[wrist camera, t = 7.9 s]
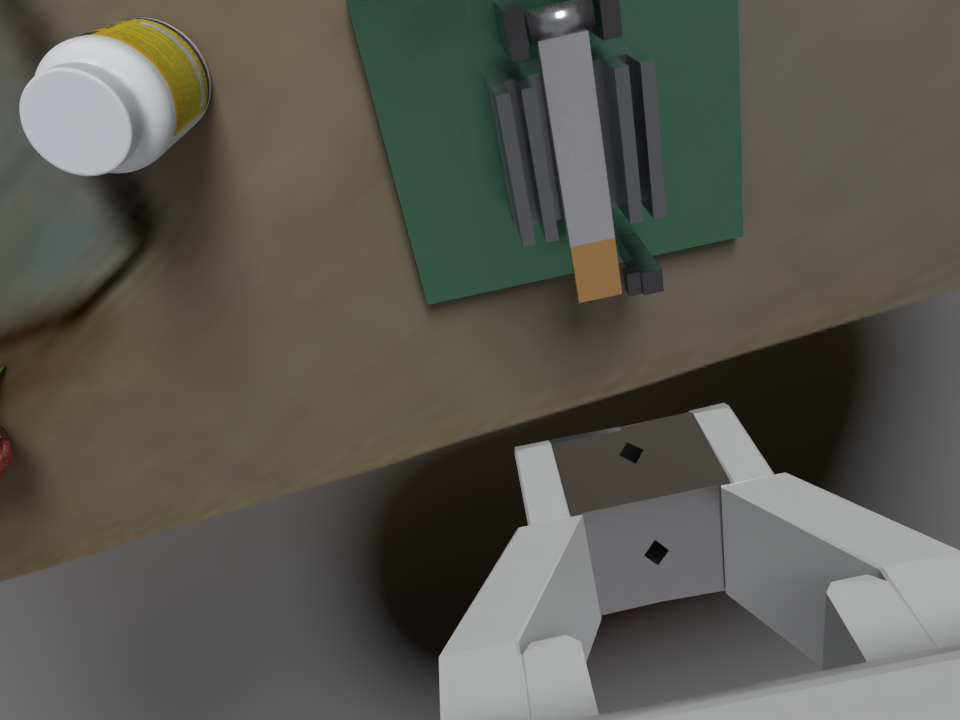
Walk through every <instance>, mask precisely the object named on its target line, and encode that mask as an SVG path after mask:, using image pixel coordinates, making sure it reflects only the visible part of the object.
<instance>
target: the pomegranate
mask: <svg viewBox="0 0 960 720" xmlns="http://www.w3.org/2000/svg"><path fill="white" fill-rule="evenodd" d="M3 368H4V365H3V366H2V367H0V372H1V371H2V369H3ZM11 457H12V447H11V445H10V442H9V439H8V438H7V436H6V433H5V431H4V429H3V427H2V426H1V425H0V476H1V475H2V474H3V473H4V471H5V469H6V468H7V467H8V465H9V463H10V461H11Z"/></svg>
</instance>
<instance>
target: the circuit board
mask: <svg viewBox="0 0 960 720" xmlns="http://www.w3.org/2000/svg"><path fill="white" fill-rule="evenodd" d="M566 1H570V0H346V2H347V6H348V9H349V13H350V17H351V21H352V24H353V28H354V32H355V36H356V39H357V43H358V47H359V51H360V54H361V58H362V62H363V66H364V69H365V73H366V77H367V81H368V84H369V88H370V92H371V96H372V99H373V103H374V107H375V111H376V114H377V118H378V122H379V126H380V129H381V133H382V137H383V141H384V144H385V148H386V152H387V156H388V159H389V163H390V167H391V171H392V174H393V178H394V182H395V186H396V189H397V193H398V197H399V201H400V204H401V208H402V212H403V216H404V219H405V223H406V227H407V231H408V234H409V238H410V242H411V246H412V249H413V253H414V257H415V260H416V264H417V268H418V272H419V275H420V279H421V283H422V287H423V290H424V294H425V298H426V302H427V305H430V304H434V303H439V302H444V301H448V300H453V299H457V298H462V297H467V296H471V295H476V294H480V293H485V292H489V291H494V290H499V289H503V288H508V287H512V286H517V285H522V284H526V283H531V282H535V281H540V280H545V279H549V278H554V277H558V276H563V275H568V274H572V273H573V272H572V266H571V260H570V253H569V247H568V241H567V235H566V228H565V222H564V216H563V210H562V203H561V197H560V191H559V185H558V178H557V172H556V166H555V160H554V153H553V147H552V141H551V134H550V128H549V122H548V116H547V109H546V103H545V97H544V91H543V84H542V78H541V72H540V66H539V59H538V53H537V47H536V45H532V46H530V44H529V41H528V37H527V32H526V26H525V19H524V11H527V10H531V9H536V8H540V7H544V6H549V5H553V4H557V3H562V2H566ZM592 3H593V7H594V13H595V31H593V32H588V33H589V40H590V48H591V56H592V63H593V71H594V79H595V87H596V94H597V102H598V110H599V118H600V125H601V133H602V141H603V149H604V156H605V164H606V172H607V179H608V187H609V195H610V203H611V210H612V218H613V226H614V234H615V241H616V249H617V257H618V263H623V262H624V264H625V265H626V267H627V268H623V274H624V283H625V290H626V292H627V294H628V295H629V296H633V295H638V294H642V293H643V294H644V295H647V294H651V293H656V292H661V291H664V289H663V277H662V269H661V267H660V266H659V265H658V263H657V262H656V260H655V259H654V258H653V256H655V255H659V254H664V253H669V252H673V251H678V250H682V249H687V248H692V247H696V246H701V245H705V244H710V243H715V242H719V241H724V240H728V239H733V238H738V237H742V236H743V216H742V170H741V125H740V79H739V34H738V0H592Z"/></svg>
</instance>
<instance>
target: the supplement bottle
mask: <svg viewBox="0 0 960 720" xmlns="http://www.w3.org/2000/svg"><path fill="white" fill-rule="evenodd" d="M210 96H211V79H210V74H209V70H208V67H207V64H206V62H205V60H204V58H203V56H202V54H201V53H200V51H199V50H198V48H197V47H196V45H195V44H194V43H193V42H192V41H191V40H190V39H189V38H188V37H187V36H186V35H185V34H183V33H182V32H181V31H179V30H178V29H176V28H175V27H173V26H171V25H169V24H167V23H165V22H162V21H159V20H156V19H151V18H131V19H126V20H122V21H119V22H116V23H113V24H110V25H107V26H105V27H101V28H99V29H96V30H93V31H91V32H88V33H84V34H81V35H78V36H75V37H72V38H69V39H68V40H66V41H64V42H62V43H60V44H58V45H56V46H55V47H54V48H52V49H51V50H50V51H49V52H48V53H47V54H46V55H45V56H44V58H43V59H42V60H41V62H40V64H39V66H38V68H37V70H36V73H35V76H34V78H33V79H31V80H30V82H29V83H28V84H27V86H26V87H25V89H24V91H23V93H22V96H21V100H20V106H19V111H20V119H21V124H22V127H23V130H24V132H25V134H26V136H27V138H28V140H29V141H30V143H31V144H32V146H33V147H34V148H35V149H36V151H37V152H38V153H39V154H40V155H41V156H42V157H43V158H44V159H46V160H47V161H48V162H50V163H51V164H53V165H54V166H56V167H58V168H59V169H61V170H64V171H66V172H69V173H72V174H76V175H82V176H97V175H102V174H106V173H127V172H133V171H136V170H139V169H142V168H144V167H146V166H148V165H150V164H151V163H153V162H154V161H155V160H157V159H158V158H159V157H161V156H162V155H163V154H164V153H165V152H166V151H167V150H168V149H169V148H170V147H171V146H173V145H174V144H175V143H176V142H177V141H178V140H179V139H180V138H181V137H182V136H184V135H185V134H186V133H187V132H188V131H189V130H190V129H191V128H192V127H193V126H195V124H196V123H197V122H198V121H199V120H200V119H201V118H202V116H203V115H204V113H205V111H206V109H207V107H208V104H209V101H210Z"/></svg>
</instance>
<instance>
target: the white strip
mask: <svg viewBox="0 0 960 720" xmlns="http://www.w3.org/2000/svg"><path fill="white" fill-rule="evenodd" d="M524 19H525V26H526V32H527V37H528V41H529V44H530V46H532V45H536V47H537V53H538V59H539V66H540V72H541V78H542V84H543V91H544V97H545V103H546V109H547V116H548V122H549V128H550V134H551V141H552V147H553V153H554V160H555V166H556V172H557V178H558V185H559V191H560V197H561V203H562V210H563V216H564V222H565V228H566V235H567V241H568V247H569V253H570V260H571V266H572V272H573V278H574V285H575V291H576V297H577V299H578V301H579V303H582V302H587V301H591V300H596V299H600V298H605V297H610V296H614V295H619V294H622V288H621V280H620V272H619V265H618V257H617V249H616V241H615V234H614V226H613V218H612V210H611V203H610V195H609V187H608V179H607V172H606V164H605V156H604V149H603V141H602V133H601V125H600V118H599V110H598V102H597V94H596V87H595V79H594V71H593V63H592V56H591V48H590V40H589V33H588V32H593V31H595V13H594V7H593V3H592V0H570V1H566V2H562V3H557V4H553V5H549V6H544V7H540V8H536V9H531V10H527V11H524Z"/></svg>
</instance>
